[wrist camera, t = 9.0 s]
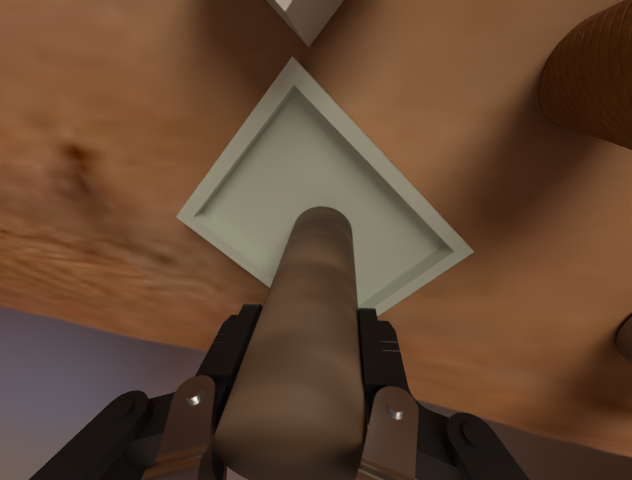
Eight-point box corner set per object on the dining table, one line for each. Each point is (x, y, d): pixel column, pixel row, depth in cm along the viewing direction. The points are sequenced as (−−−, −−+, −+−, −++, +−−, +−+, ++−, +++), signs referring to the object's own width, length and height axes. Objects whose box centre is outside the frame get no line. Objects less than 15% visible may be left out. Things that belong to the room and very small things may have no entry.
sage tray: (460, 236, 22) (474, 251, 20) (340, 321, 28) (340, 341, 25) (298, 61, 18) (292, 56, 15) (191, 205, 23) (176, 216, 21)
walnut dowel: (364, 234, 20) (404, 465, 7) (323, 269, 21) (297, 504, 9) (321, 193, 18) (280, 385, 6) (280, 234, 20) (185, 447, 8)
